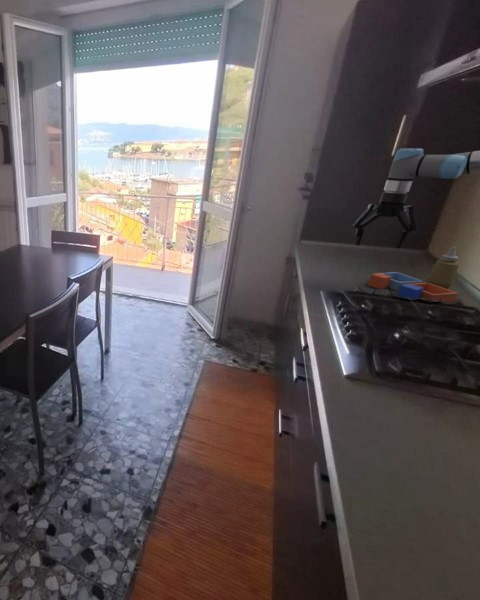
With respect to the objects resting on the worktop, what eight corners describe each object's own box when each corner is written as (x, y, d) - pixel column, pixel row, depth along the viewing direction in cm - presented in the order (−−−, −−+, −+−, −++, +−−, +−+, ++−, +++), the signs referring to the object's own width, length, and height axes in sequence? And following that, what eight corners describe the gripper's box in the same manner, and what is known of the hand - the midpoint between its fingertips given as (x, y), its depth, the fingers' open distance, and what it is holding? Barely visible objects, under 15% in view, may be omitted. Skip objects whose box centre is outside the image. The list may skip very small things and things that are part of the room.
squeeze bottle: (446, 288, 149) (464, 246, 142) (452, 294, 143) (472, 251, 136) (420, 284, 153) (438, 243, 146) (425, 290, 147) (443, 248, 139)
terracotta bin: (454, 301, 137) (458, 293, 135) (429, 303, 135) (433, 294, 133) (423, 290, 147) (427, 282, 145) (400, 292, 145) (403, 284, 144)
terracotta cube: (387, 287, 150) (391, 276, 148) (380, 289, 148) (384, 278, 146) (374, 283, 154) (378, 272, 152) (367, 285, 152) (371, 274, 150)
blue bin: (419, 289, 148) (423, 281, 147) (396, 290, 147) (399, 282, 145) (393, 279, 159) (396, 271, 157) (371, 281, 157) (374, 273, 155)
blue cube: (418, 299, 138) (424, 287, 136) (411, 301, 136) (416, 289, 134) (403, 295, 142) (408, 283, 140) (396, 297, 141) (401, 285, 139)
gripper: (431, 192, 135) (410, 246, 144) (353, 189, 143) (338, 241, 152) (441, 194, 129) (419, 251, 137) (360, 191, 137) (343, 245, 145)
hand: (376, 246), depth 145 cm, fingers open, 13 cm apart
